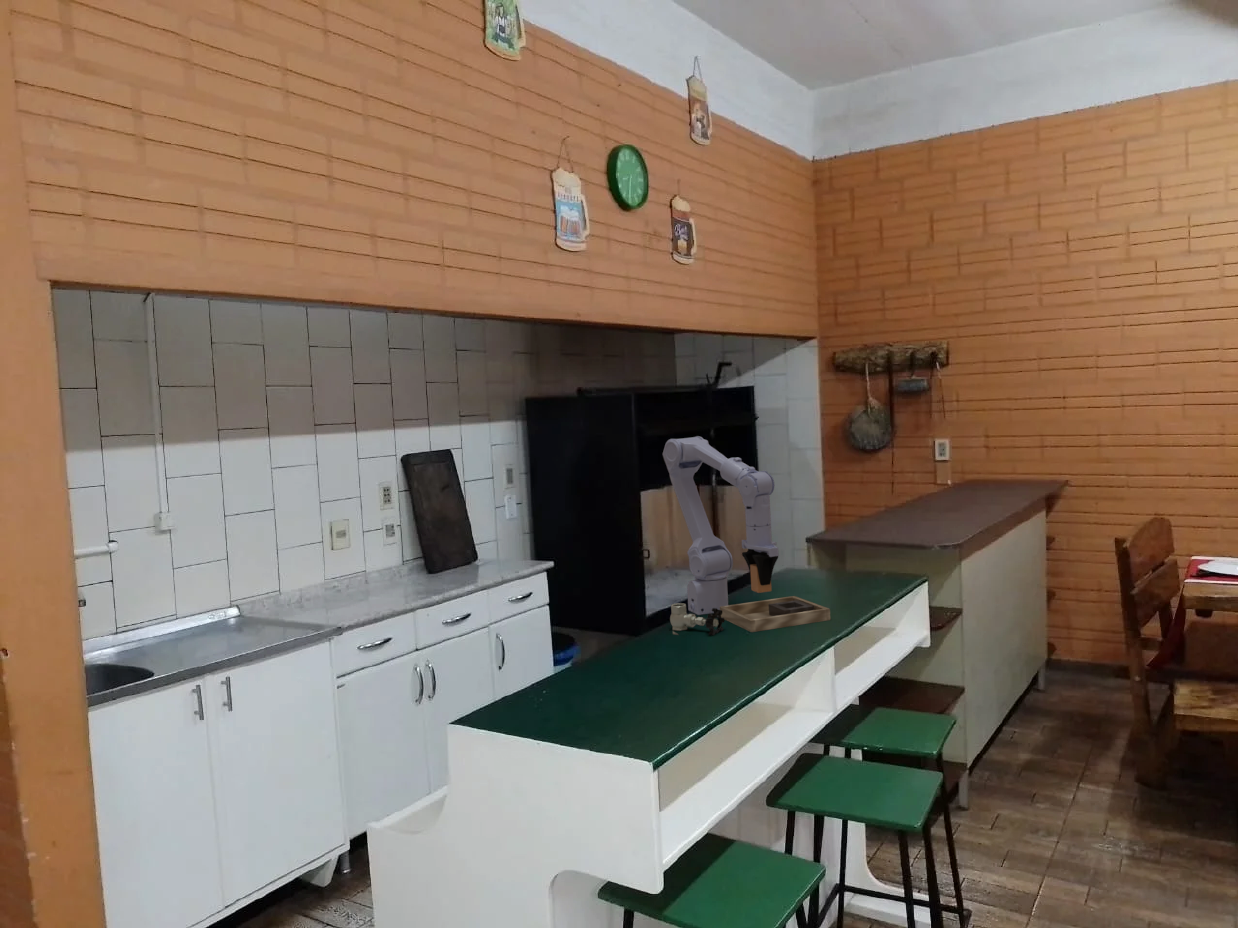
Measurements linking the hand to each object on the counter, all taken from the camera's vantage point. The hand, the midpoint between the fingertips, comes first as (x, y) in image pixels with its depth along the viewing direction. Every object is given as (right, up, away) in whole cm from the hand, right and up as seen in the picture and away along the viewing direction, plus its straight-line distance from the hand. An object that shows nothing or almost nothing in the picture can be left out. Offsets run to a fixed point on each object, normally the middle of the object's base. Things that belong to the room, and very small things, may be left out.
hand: (761, 583), depth 214 cm
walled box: (+3, -9, +2) cm, 10 cm away
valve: (-16, -11, -4) cm, 20 cm away
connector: (0, -2, 0) cm, 2 cm away
